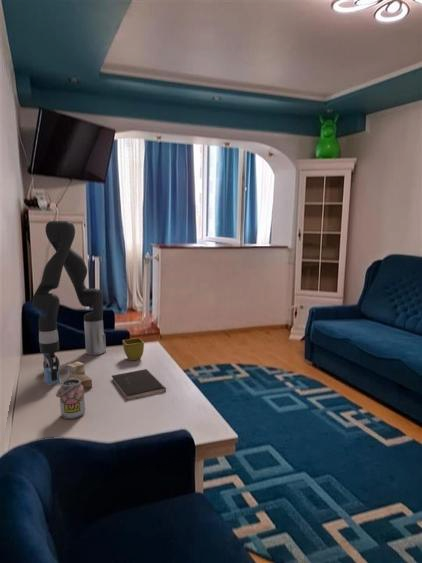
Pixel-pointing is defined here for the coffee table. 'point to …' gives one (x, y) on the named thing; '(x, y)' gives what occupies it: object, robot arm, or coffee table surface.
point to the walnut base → (84, 381)
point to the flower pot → (133, 348)
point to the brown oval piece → (58, 363)
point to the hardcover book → (138, 383)
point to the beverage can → (71, 398)
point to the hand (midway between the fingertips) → (51, 377)
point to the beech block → (75, 369)
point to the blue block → (48, 376)
